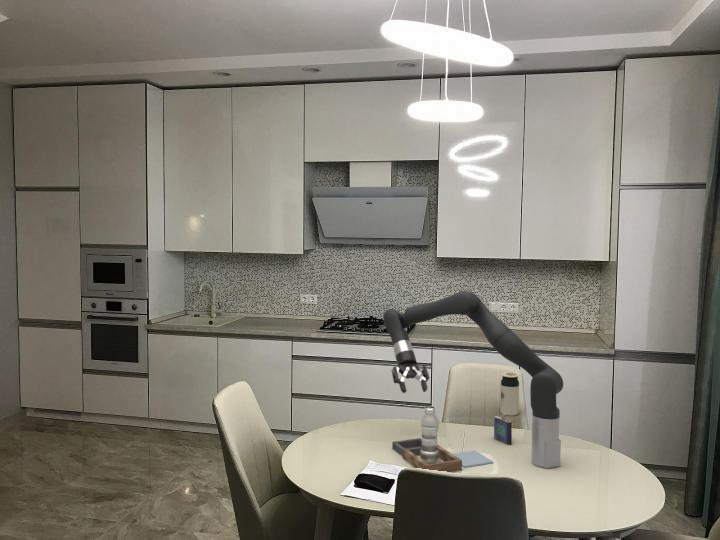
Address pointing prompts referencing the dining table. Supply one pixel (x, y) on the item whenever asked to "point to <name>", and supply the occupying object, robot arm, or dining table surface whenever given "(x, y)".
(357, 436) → the dining table surface
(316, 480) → the dining table surface
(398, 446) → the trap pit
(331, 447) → the dining table surface
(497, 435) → the flask
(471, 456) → the pad
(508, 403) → the travel mug
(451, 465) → the walled lane
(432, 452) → the plastic bottle
